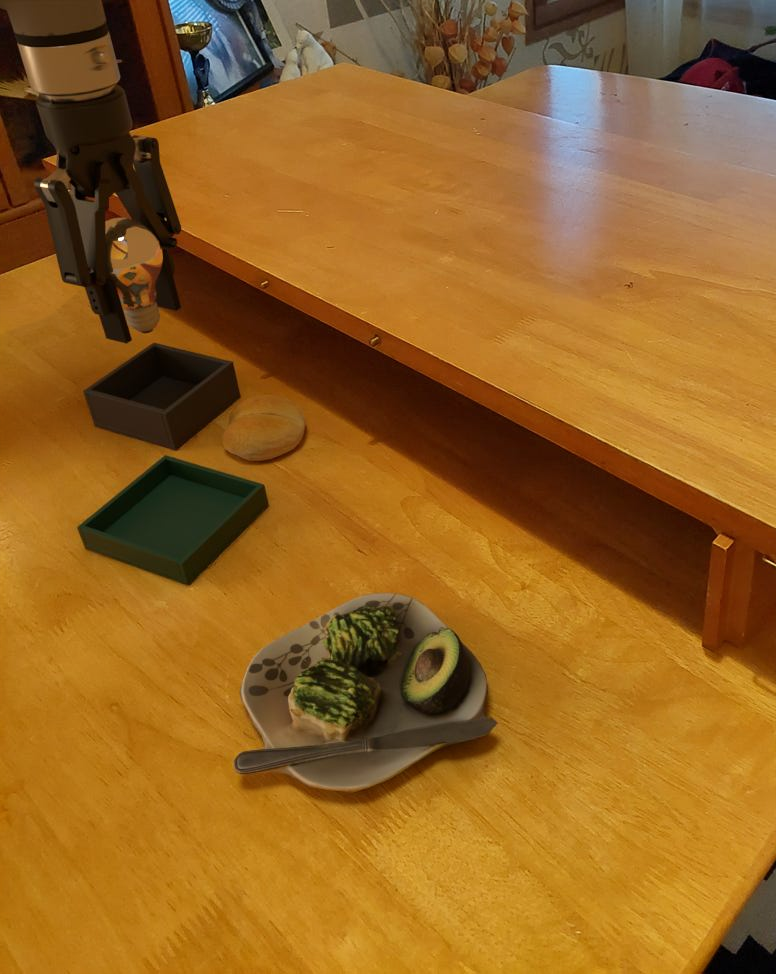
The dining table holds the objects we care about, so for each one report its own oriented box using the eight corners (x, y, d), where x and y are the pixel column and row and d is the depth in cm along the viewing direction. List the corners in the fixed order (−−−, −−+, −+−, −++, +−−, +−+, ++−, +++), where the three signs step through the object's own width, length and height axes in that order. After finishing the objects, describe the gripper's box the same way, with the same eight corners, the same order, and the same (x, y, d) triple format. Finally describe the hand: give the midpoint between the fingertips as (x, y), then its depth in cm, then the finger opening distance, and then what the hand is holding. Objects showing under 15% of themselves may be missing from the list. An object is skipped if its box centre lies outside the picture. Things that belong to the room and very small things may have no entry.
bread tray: (84, 548, 85) (76, 527, 83) (171, 475, 93) (165, 454, 92) (188, 585, 81) (181, 563, 79) (269, 505, 89) (264, 484, 88)
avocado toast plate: (289, 871, 60) (278, 831, 57) (187, 693, 71) (173, 653, 68) (528, 725, 68) (528, 684, 65) (402, 587, 80) (397, 548, 77)
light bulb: (178, 310, 100) (150, 202, 92) (184, 339, 95) (155, 227, 87) (111, 322, 98) (77, 213, 91) (114, 353, 93) (78, 239, 86)
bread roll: (217, 465, 95) (209, 433, 92) (238, 416, 102) (231, 384, 99) (297, 464, 94) (291, 432, 92) (313, 415, 101) (307, 384, 99)
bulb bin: (94, 426, 101) (82, 390, 98) (163, 376, 109) (153, 342, 106) (175, 450, 97) (165, 413, 94) (241, 396, 105) (233, 361, 102)
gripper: (22, 127, 73) (104, 376, 88) (185, 65, 87) (232, 288, 101) (-44, 117, 76) (45, 360, 90) (124, 58, 90) (178, 277, 104)
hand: (144, 322), depth 96 cm, fingers closed on light bulb, 7 cm apart
